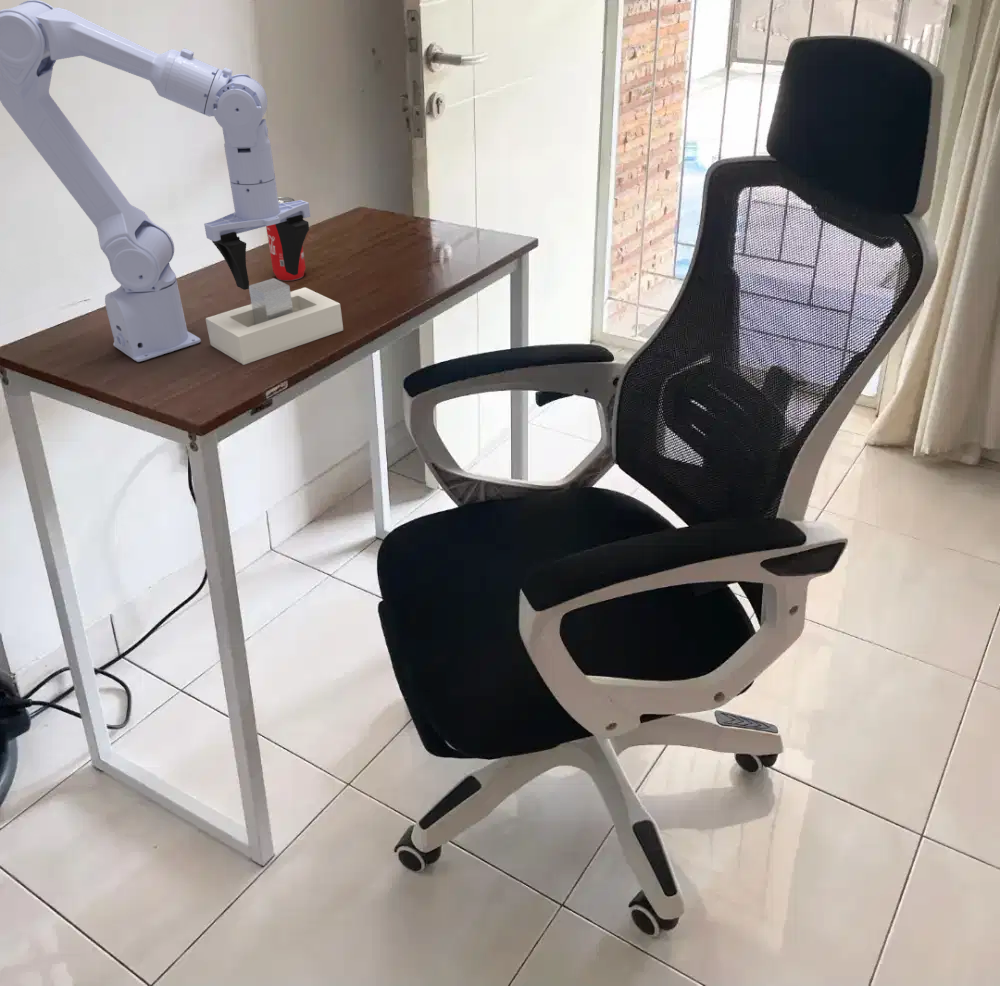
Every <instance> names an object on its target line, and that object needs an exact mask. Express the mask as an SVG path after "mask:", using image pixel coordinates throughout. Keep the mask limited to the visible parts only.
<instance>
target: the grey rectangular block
mask: <svg viewBox="0 0 1000 986" xmlns="http://www.w3.org/2000/svg"><path fill="white" fill-rule="evenodd" d="M248 290H249V296H250V304H252V310H253V316H254V321H255V325H256V324H259V323H262V322H265V321H269V320H272V319H275V318H278V317H281V316H284V315H287V314H290V313H293V308H292V301H291V294H290V292H291V288H290V285H289V284H288V283H285V282H283V281H282V280H279V279H277V278H275V277H273V278H269V279H266V280H262V281H261V282H256V283H253V284H249V289H248Z"/></svg>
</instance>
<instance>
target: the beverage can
mask: <svg viewBox="0 0 1000 986" xmlns="http://www.w3.org/2000/svg"><path fill="white" fill-rule="evenodd" d="M293 201H296V200H295V198H293V197H288V196H287V197H286V196H285V197H284V196H282V197H281V196H279V197H278V202H279V203H286V202H293ZM265 229H266V234H267V242H268V246H269V247H268V248H269V255H270V261H271V267H272V272H273V274H274V275H275V277H276V279H277V280H279V281H281V282H283V281H284V282H285V281H286V282H291V281H295V280H300V279H302V278H304V276H305V271H306V267H307V266H306V261H305V253H304V246H303V245H304V244H303V245H302V249H301V254H300V260H299V268H298V274H297V275H292V274H290V273H288V272H286V269H285V265H284V259H283V252H282V246H281V242H280V238H279V234H278V231H277V228H276V225H275V224H274V225H270V226H265Z"/></svg>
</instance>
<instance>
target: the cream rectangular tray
mask: <svg viewBox="0 0 1000 986" xmlns="http://www.w3.org/2000/svg"><path fill="white" fill-rule="evenodd" d="M290 294H291V301H292V308H293V313H290V314H287V315H284V316H281V317H278V318H275V319H272V320H269V321H265V322H262V323H259V324H256V325H255V321H254V316H253V310H252V304H251V303H250V304H247V305H244V306H241V307H240V306H239V307H237V308H233V309H231V310H228V311H223V312H221V313H218V314H216V315H211V316H208V317H205V322H206V324H205V325H206V328H207V332H208V339H209V342H210V346H211V347H213V348H215V349H216V350H218V351H220V352H222V353H223V354H225V355H226V356H228V357H230V358H231V359H233V360H235V361H237V362H238V363H240V364H241V365H243V366H244V365H247V364H251V363H253V362H255V361H258V360H262V359H264V358H267V357H270V356H273V355H276V354H279V353H281V352H285V351H287V350H290V349H293V348H294V349H295V348H296V347H298V346H302V345H305V344H308V343H311V342H314V341H316V340H319V339H322V338H325V337H328V336H330V335H333V334H336V333H340V332H342V331H344V325H343V324H344V323H343V317H342V316H343V315H342V309H341V303H339V302H338V301H336V300H333V299H331V298H329V297H327V296H325V295H323V294H321V293H318V292H317V291H316V292H315V291H314V290H312V289H310V288H308V287H302V288H298V289H295V290H292V291H290Z"/></svg>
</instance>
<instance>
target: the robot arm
mask: <svg viewBox="0 0 1000 986" xmlns="http://www.w3.org/2000/svg"><path fill="white" fill-rule="evenodd" d="M194 54H195V52H194V51H192V50H190V49H187V48H182V49H181V50H180V51H178V50H177V49H174V48H172V49H168V50H167V51H165V52H163V53H157V52H156V51H153V50H151V49H149V48H147V47H145V46H142V45H140V44H138V43H136V42H135V41H132V40H131V39H128V38H127V37H124V36H122V35H120V34H118V33H116V32H113V31H112V30H109V29H107V28H105V27H102V26H101V25H99V24H96V23H94V22H93V21H90V20H88V19H87V18H85V17H82V16H80V15H78V14H77V13H75V12H73V11H71V10H69V9H65V8H62V7H59V6H58V7H54V6H53V5H51V4H49V3H47V2H46V1H44V0H26V1H23V2H21V3H19V4H18V5H16V6H13V7H10V8H5V9H1V10H0V103H1V105H2V106H3V107H4V109H5V110H6V112H7V113H8V114H9V115H10V117H11V118H12V119H13V121H14V122H15V123H16V124H17V125H18V127H19V129H21V131H22V133H23V134H24V135H25V137H27V139H28V140H29V142H30V143H31V144H32V146H33V147H34V148H35V149H36V151H37V152H38V154H40V157H42V158H43V160H44V161H45V162H46V164H47V165H48V166H49V168H50V169H51V170H52V172H53V173H54V174H55V175H56V177H57V178H58V180H59V181H60V182H61V183H62V185H63V186H64V187H65V188H66V190H67V191H68V192H69V194H70V195H71V197H73V199H74V200H75V201H76V203H77V204H78V205H79V208H81V209H82V211H83V212H84V214H85V215H86V216H87V217H88V218H89V220H90V221H91V222H92V224H93V225H94V227H95V228H96V231H97V237H98V241H99V243H98V244H99V247H100V249H101V251H102V253H103V254H104V255H105V257H106V259H107V261H108V262H109V267H110V271H111V274H112V275H113V277H114V278H115V280H116V281H117V282H118V283H119V284H120V286H119V287H118V288H117V289H115V290H113V291H111V292H108V293H106V294H105V296H104V297H105V298H104V304H105V309H106V310H105V311H106V314H107V317H108V321H109V326H110V330H111V333H112V337H113V341H114V342H113V344H112V345H113V346H114V348H116V349H118V350H119V351H121V352H122V353H123V354H125V355H126V356H128V357H129V358H131V359H132V360H134V361H135V362H137V363H140V362H143V361H147V360H150V359H153V358H156V357H159V356H163V355H164V354H165V355H166V354H168V353H172V352H174V351H179V350H180V349H181V350H182V349H184V348H187V347H189V346H190V347H191V346H193V345H197V344H199V343H200V342H201V341H202V340H201V338H200V337H199V336H197V335H195V334H193V333H191V332H190V331H188V328H187V323H186V317H185V314H184V309H183V305H182V298H181V294H180V289H179V286H178V285H179V284H178V280H177V279H178V278H177V275H176V273H175V272H174V270H173V269H172V267H171V265H170V264H171V263H170V262H171V261H172V260H173V258H174V256H175V244H174V240H173V238H172V236H171V235H170V234H169V232H168V231H167V230H165V229H164V228H163V227H161V226H159V225H157V224H156V223H155V222H153V221H152V220H151V219H150V218H149V216H148V215H147V214H146V212H145V211H143V210H141V209H140V208H138V207H136V206H134V205H132V204H131V203H130V202H129V200H128V199H127V198H126V196H125V195H124V193H123V192H122V191H121V190H120V188H119V186H118V185H117V184H116V182H114V180H113V179H112V178H111V177H112V176H110V175H109V173H108V172H107V170H106V169H105V168H104V166H103V165H102V163H101V162H100V161H99V159H98V158H97V157H96V156H95V155H94V153H93V151H92V150H91V149H90V147H89V146H88V144H87V143H85V141H84V139H83V137H81V135H80V134H79V132H78V131H77V129H76V128H75V127H74V125H72V122H70V120H69V119H68V118H67V116H66V115H65V114H64V112H63V111H62V109H61V108H60V107H59V106H58V104H57V102H55V100H54V99H53V97H52V96H51V95H50V87H51V80H52V75H53V70H54V69H53V68H54V65H55V64H56V62H57V61H58V60H62V59H63V60H64V59H69V58H75V57H76V58H77V57H84V58H88V59H91V60H93V61H97V62H99V63H102V64H104V65H107V66H110V67H111V68H115V69H118V70H120V71H124V72H125V73H129V74H132V75H133V76H137V77H140V78H142V79H145V80H146V81H147V80H148V81H149V82H150V83H151V84H152V86H153V88H154V89H155V91H156V93H157V95H158V96H160V97H161V98H164V99H166V100H169V101H171V102H173V103H176V104H179V105H181V106H182V107H186V108H188V109H189V110H193V111H194V112H197V113H200V114H202V115H204V116H207V117H214V119H215V121H216V122H217V123H218V125H219V126H220V127H221V128H222V133H223V140H224V144H223V145H224V147H223V148H224V153H225V158H226V164H227V165H226V166H227V170H228V178H229V183H230V188H231V189H230V190H231V195H232V201H233V208H234V212H232V213H230V214H227V215H225V216H223V217H220V218H217V219H215V220H212V221H209V222H205V223H204V224H203V225H204V232H205V236H206V238H207V239H208V240H210V241H211V242H212V243H213V246H215V247H216V249H217V250H218V251H219V252H220V254H221V256H222V257H223V259H224V260H225V262H226V264H227V266H228V268H229V269H230V272H231V274H232V276H233V279H234V281H235V284H236V286H237V287H238V288H239V289H242V290H245V291H246V290H249V285H250V281H249V280H250V279H249V274H248V268H247V259H246V257H247V255H246V254H247V253H246V251H247V243H246V242H245V241H242V240H241V238H240V236H238V234H242V233H246V232H249V231H253V230H257V229H262V228H266V226H270V225H274V224H275V225H276V228H277V231H278V234H279V238H280V242H281V246H282V252H283V259H284V265H285V269H286V272H288V273H290V274H292V275H297V274H298V268H299V260H300V254H301V249H302V245H304V242H305V239H306V237H307V235H308V232H309V230H310V223H309V221H307V220H306V218H311V211H310V203H309V202H308V201H304V200H302V199H299V200H295V201H293V202H286V203H279V202H278V196H279V195H278V190H277V180H276V175H275V174H276V173H275V166H274V159H273V152H272V145H271V140H270V137H269V128H268V125H267V120H266V118H263V117H264V116H265V114H266V113H267V109H268V96H267V93H266V91H265V88H264V87H263V86H262V85H261V83H260V82H259V81H257V80H256V79H255V78H253V77H251V76H250V75H249V74H246V73H237V74H234V75H233V70H232V69H231V68H228V67H226V66H225V67H224V68H223V69H220V68H218V67H216V66H214V65H211V64H209V63H207V62H204V61H203V60H200V59H198V58H195V57H194Z"/></svg>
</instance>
